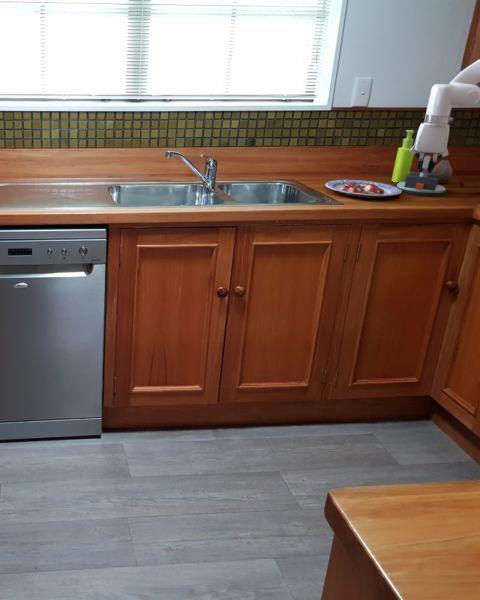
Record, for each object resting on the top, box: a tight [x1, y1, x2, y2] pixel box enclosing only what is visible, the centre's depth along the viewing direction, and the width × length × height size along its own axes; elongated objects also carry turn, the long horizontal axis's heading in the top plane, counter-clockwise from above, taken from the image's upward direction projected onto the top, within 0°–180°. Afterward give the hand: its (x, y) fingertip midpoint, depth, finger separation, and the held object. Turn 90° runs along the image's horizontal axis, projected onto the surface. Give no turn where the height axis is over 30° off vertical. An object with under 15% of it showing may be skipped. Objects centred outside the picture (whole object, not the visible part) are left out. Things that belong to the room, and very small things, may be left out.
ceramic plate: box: [325, 179, 402, 199], centre depth 224 cm, size 26×26×3 cm
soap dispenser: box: [391, 129, 415, 183], centre depth 241 cm, size 6×7×20 cm
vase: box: [431, 159, 453, 185], centre depth 242 cm, size 7×7×9 cm
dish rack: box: [396, 155, 446, 193], centre depth 225 cm, size 16×16×12 cm
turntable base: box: [395, 185, 447, 198], centre depth 228 cm, size 17×17×1 cm
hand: (424, 171), depth 225 cm, fingers closed on dish rack, 2 cm apart
